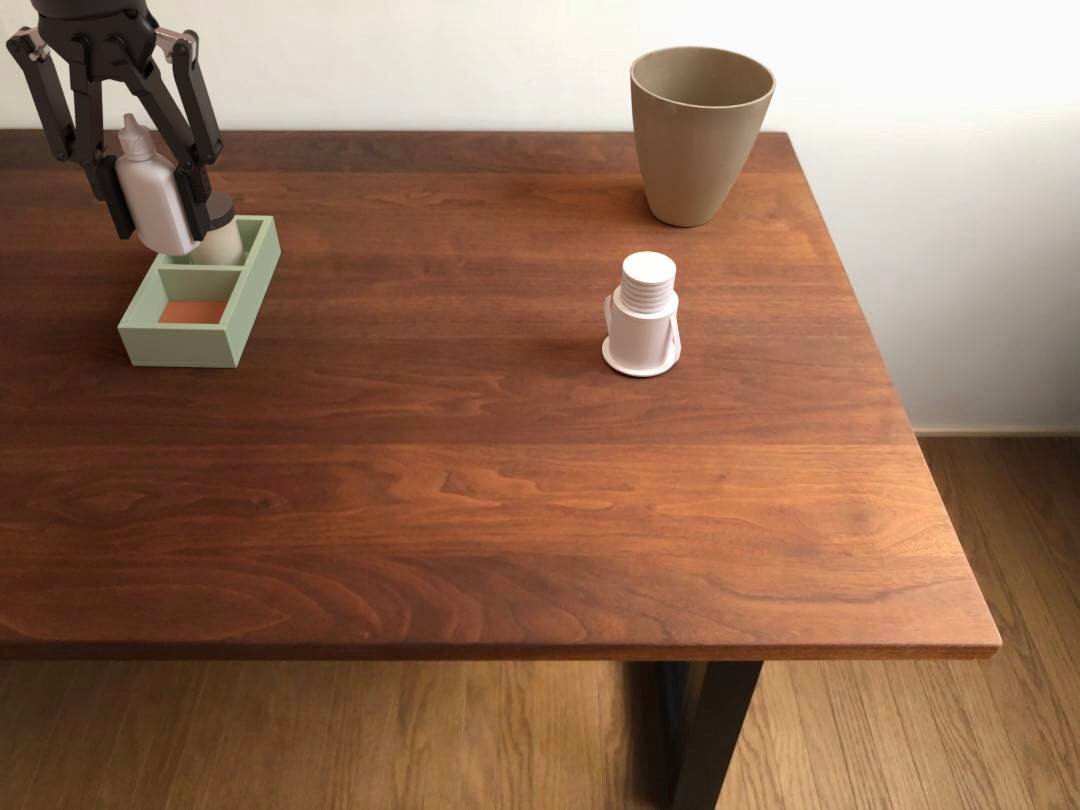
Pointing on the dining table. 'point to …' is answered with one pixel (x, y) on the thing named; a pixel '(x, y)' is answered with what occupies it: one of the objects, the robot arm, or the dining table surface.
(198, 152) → the robot arm
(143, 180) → the eye dropper bottle
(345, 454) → the dining table surface
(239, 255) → the spice jar
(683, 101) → the plant pot
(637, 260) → the downlight
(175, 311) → the green divided tray
